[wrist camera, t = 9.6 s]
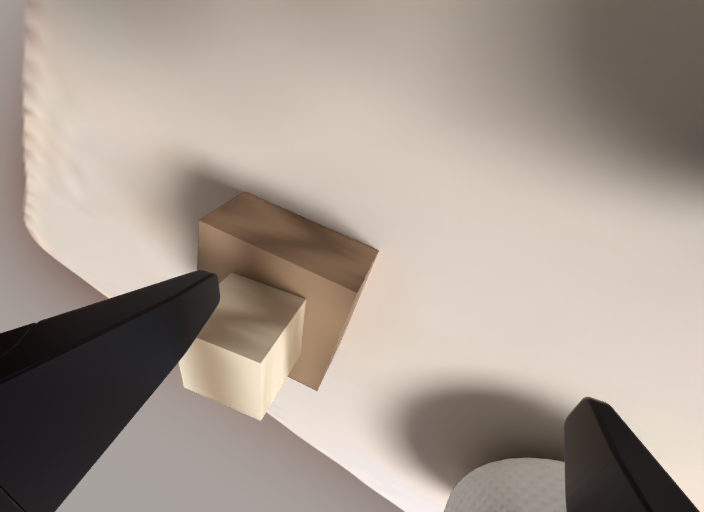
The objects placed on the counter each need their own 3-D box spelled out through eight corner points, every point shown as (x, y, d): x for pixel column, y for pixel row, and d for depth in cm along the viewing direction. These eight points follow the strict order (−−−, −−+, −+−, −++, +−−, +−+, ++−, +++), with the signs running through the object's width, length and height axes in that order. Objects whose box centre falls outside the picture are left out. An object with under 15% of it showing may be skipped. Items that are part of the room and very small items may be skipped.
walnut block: (379, 248, 23) (357, 293, 19) (340, 341, 29) (316, 391, 25) (247, 189, 24) (198, 220, 20) (235, 291, 30) (196, 331, 26)
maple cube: (306, 299, 20) (260, 363, 16) (300, 354, 23) (260, 420, 19) (231, 272, 21) (170, 327, 17) (235, 328, 24) (184, 387, 20)
